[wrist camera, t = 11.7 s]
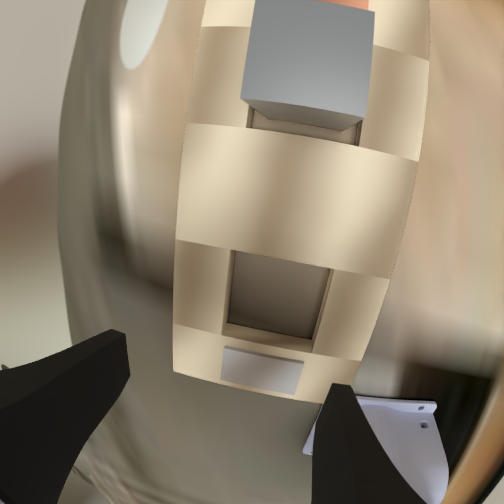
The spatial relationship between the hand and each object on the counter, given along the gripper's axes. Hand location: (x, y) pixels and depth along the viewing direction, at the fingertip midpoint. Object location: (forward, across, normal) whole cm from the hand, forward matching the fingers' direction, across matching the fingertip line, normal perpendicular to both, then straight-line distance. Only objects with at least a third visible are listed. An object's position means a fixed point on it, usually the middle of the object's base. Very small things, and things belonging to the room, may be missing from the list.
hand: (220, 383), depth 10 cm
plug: (+10, -1, -11) cm, 14 cm away
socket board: (+9, -1, -5) cm, 11 cm away
